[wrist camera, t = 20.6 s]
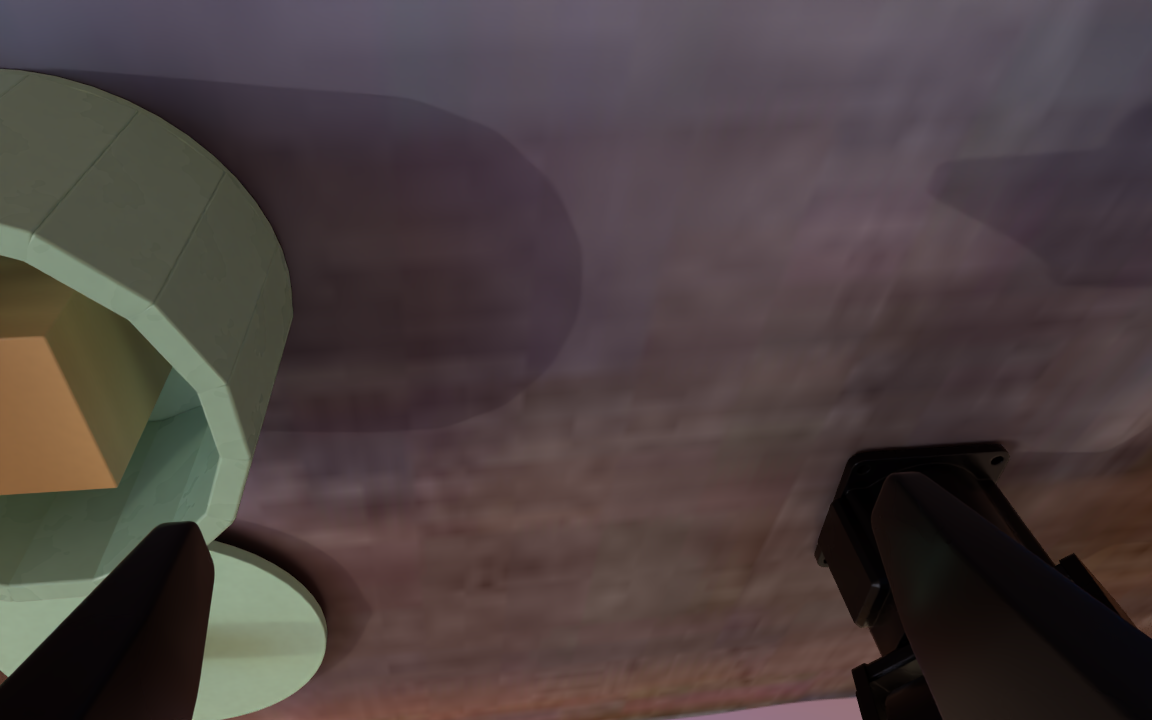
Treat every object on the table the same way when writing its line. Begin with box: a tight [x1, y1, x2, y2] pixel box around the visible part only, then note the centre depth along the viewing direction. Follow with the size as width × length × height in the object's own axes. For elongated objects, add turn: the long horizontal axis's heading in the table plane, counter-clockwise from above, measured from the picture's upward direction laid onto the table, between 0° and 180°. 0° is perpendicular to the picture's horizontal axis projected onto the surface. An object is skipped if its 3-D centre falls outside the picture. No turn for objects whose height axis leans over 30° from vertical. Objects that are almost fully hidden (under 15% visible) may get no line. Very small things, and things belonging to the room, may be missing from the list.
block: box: [0, 255, 173, 495], centre depth 19 cm, size 4×4×6 cm
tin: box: [0, 69, 293, 602], centre depth 19 cm, size 11×11×6 cm
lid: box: [0, 540, 328, 720], centre depth 29 cm, size 12×12×5 cm
